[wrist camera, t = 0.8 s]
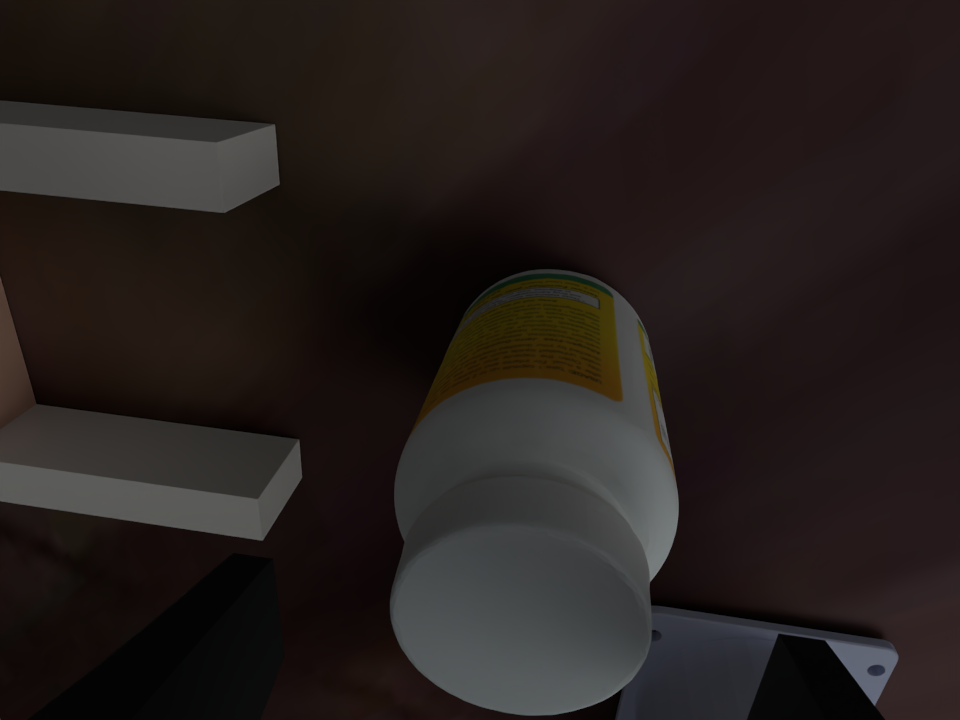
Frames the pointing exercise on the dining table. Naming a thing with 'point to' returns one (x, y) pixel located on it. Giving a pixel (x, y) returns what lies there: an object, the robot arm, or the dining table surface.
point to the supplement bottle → (535, 500)
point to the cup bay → (114, 438)
